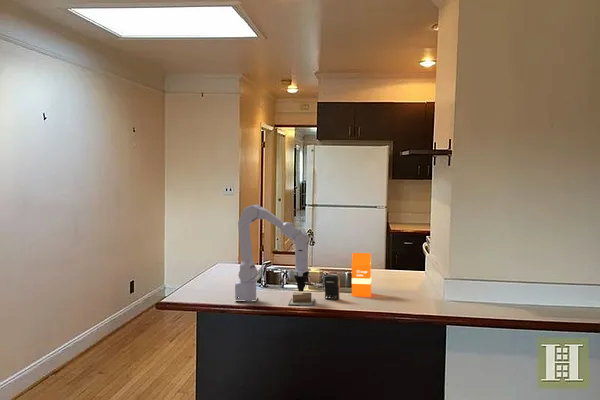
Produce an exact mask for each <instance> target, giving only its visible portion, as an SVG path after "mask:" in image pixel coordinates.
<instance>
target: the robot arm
mask: <svg viewBox="0 0 600 400" xmlns="http://www.w3.org/2000/svg"><path fill="white" fill-rule="evenodd" d="M256 220H266V221H268V222H269V223H270V224H272V225H274V226H276V227H277V228H278V229H279V230H280V233H281V234H282V235H284V236H285V237H287V238H288V239H289V240H291V241H293V243H294V244H295V249H294V258H295V259H294V261H295V262H294V264H295V267H294V271H295V272H296V274H294V275H293V276H294V279H295V282H296V285H297V290H298V292H304V291H305V287H306V284H307V279H308V276H309V273H310V272H311V271H312V269H311V268H309V246H308V245H309V244H308V243H309V240H310V236H309V234H308V233H307V232H306V231H303V230H302V229H301V228H298V227H296V226H294V223H292V222H289V221H286V222H284V221H283V220H282V219H280V218H279V217H278V216H276V215H274V214H273V213H272V212H271V211H269V210H268V209H267V208H265V207H262V206H261V205H260V204H258V203H257V204H252V205H248V206H246V207H245V208H243V210H242V212H241V215H240V218H239V219H238V222H237V226H238V238H239V246H240V247H239V249H240V258H241V259H240V260H241V262H240V265H239V272H238V278H239V280H237V281H236V282H235V286H234V291H235V292H234V295H235V296H234V298H235V299H234V300H245V301H252V300H256V297H257V279H256V276H257V275H258V268H257V267H256V262H255V261H254V259H253V248H252V236H251V227H250V226H251V225H252V224H253V222H255V221H256ZM238 297H239V298H238Z"/></svg>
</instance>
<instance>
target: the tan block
mask: <svg viewBox="0 0 600 400" xmlns="http://www.w3.org/2000/svg"><path fill="white" fill-rule="evenodd" d="M292 299H293V302H297V303H311V299H312V292H303V291H298V292H294V291H293V293H292Z"/></svg>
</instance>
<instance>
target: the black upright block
mask: <svg viewBox="0 0 600 400" xmlns="http://www.w3.org/2000/svg"><path fill="white" fill-rule="evenodd" d="M340 284H341V283H340V276H339V275H337V274H330V273H329V274H326V275H324V277H323V286H324V291H325V292H324V299H325V300H327V301H328V300H329V301H338V300H340V289H341V287H340Z"/></svg>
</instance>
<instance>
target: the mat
mask: <svg viewBox="0 0 600 400" xmlns="http://www.w3.org/2000/svg"><path fill="white" fill-rule="evenodd" d="M315 302H316V299H315V298H311V303H297V302H293V298H290V300H289V302H288V305H302V306H301V307H314V305H315Z"/></svg>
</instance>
